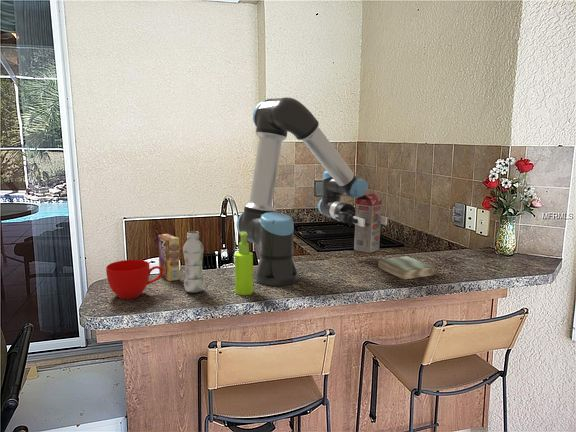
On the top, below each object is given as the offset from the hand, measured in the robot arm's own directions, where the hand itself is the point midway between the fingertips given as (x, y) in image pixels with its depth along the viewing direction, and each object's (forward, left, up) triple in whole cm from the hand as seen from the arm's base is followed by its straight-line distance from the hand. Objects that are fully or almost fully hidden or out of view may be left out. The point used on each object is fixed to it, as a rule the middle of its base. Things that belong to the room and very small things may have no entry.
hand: (375, 222), depth 163 cm
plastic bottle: (-63, +11, -21) cm, 67 cm away
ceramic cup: (-81, +15, -21) cm, 85 cm away
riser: (+17, +4, -21) cm, 28 cm away
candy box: (-68, +29, -21) cm, 76 cm away
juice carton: (0, +5, -11) cm, 12 cm away
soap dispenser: (-48, +5, -21) cm, 52 cm away
